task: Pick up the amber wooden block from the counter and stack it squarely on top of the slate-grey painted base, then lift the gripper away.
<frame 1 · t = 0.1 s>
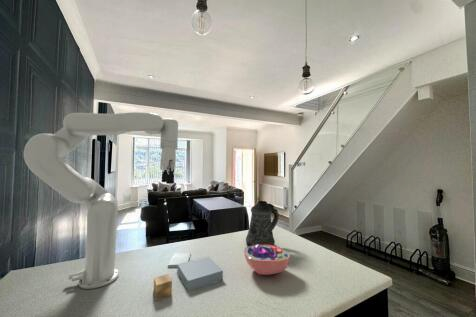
hand: (167, 182, 89), 37 cm above the kitchen island, tool pointing down, fingers open, 9 cm apart
cell model: (266, 272, 83), on the kitchen island
amber block: (162, 294, 67), on the kitchen island
beer stein: (261, 245, 112), on the kitchen island
hard drive: (179, 262, 91), on the kitchen island
slate base: (199, 277, 79), on the kitchen island
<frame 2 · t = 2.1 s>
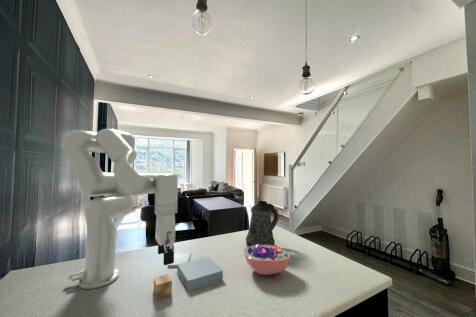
hand: (165, 258, 68), 12 cm above the kitchen island, tool pointing down, fingers open, 9 cm apart
nothing on the kitchen island moved.
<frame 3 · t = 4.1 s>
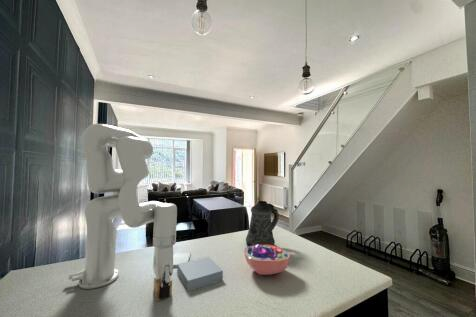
hand: (162, 292, 67), 0 cm above the kitchen island, tool pointing down, fingers closed on amber block, 5 cm apart
amber block: (162, 293, 67), on the kitchen island, touching gripper
everything else where it was.
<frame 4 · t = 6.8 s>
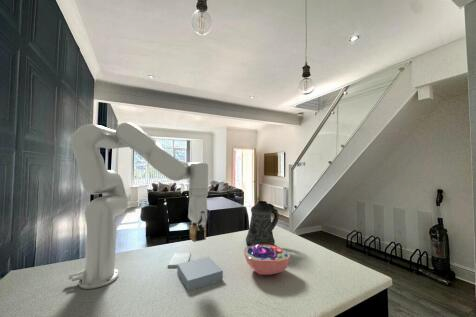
hand: (197, 237, 78), 16 cm above the kitchen island, tool pointing down, fingers closed on amber block, 5 cm apart
amber block: (197, 238, 78), point 15 cm above the kitchen island, touching gripper
everything else where it was.
when the fingers open (6 cm above the kitchen island, at t = 9.6 s): amber block drops 2 cm, resting on slate base.
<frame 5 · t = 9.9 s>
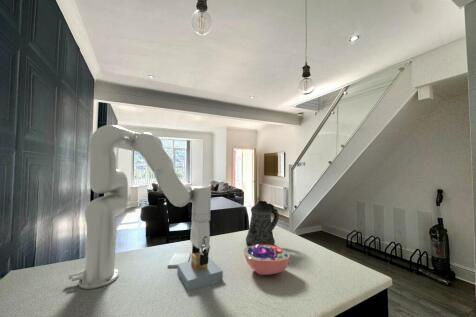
hand: (199, 259, 79), 7 cm above the kitchen island, tool pointing down, fingers open, 8 cm apart
amber block: (199, 267, 79), point 3 cm above the kitchen island, touching slate base
slate base: (199, 277, 79), on the kitchen island, touching amber block
everything else where it was.
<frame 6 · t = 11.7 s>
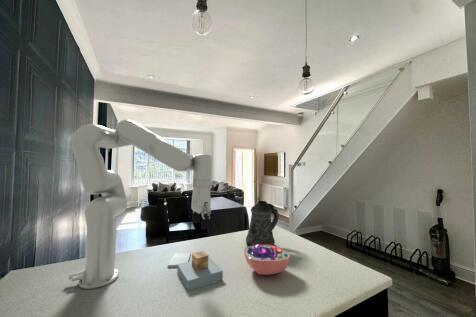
hand: (200, 225, 80), 20 cm above the kitchen island, tool pointing down, fingers open, 9 cm apart
nothing on the kitchen island moved.
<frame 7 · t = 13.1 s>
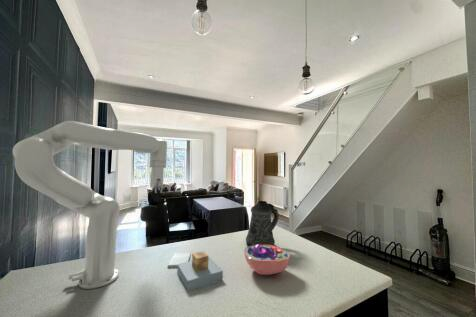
hand: (156, 199, 94), 28 cm above the kitchen island, tool pointing down, fingers open, 9 cm apart
nothing on the kitchen island moved.
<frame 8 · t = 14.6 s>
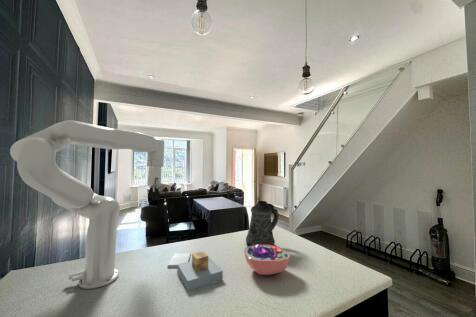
hand: (154, 198, 95), 28 cm above the kitchen island, tool pointing down, fingers open, 9 cm apart
amber block: (200, 267, 79), point 3 cm above the kitchen island
slate base: (199, 277, 79), on the kitchen island
everything else where it was.
at the end: amber block inside the target area on the slate base (0.3 cm from its centre), point 4.0 cm above the slate base's base; amber block tilted 0°; amber block touching slate base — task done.
